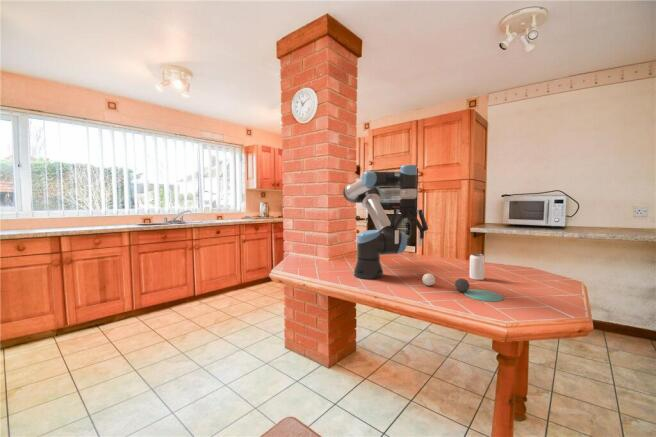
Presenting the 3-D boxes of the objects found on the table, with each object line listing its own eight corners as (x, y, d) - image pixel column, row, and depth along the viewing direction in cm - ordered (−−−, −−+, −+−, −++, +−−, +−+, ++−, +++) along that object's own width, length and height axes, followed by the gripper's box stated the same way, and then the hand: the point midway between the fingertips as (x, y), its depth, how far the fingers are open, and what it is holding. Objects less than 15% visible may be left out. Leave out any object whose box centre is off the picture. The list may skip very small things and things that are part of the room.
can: (486, 280, 131) (486, 256, 130) (471, 280, 132) (472, 255, 131) (481, 277, 137) (482, 253, 136) (467, 276, 138) (468, 253, 138)
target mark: (457, 290, 117) (457, 289, 117) (489, 289, 118) (489, 288, 118) (476, 302, 103) (476, 301, 103) (512, 301, 104) (512, 300, 104)
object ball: (452, 289, 118) (452, 277, 118) (464, 289, 118) (465, 276, 118) (458, 293, 113) (459, 280, 112) (471, 293, 113) (472, 280, 113)
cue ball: (420, 283, 127) (420, 272, 127) (432, 283, 127) (432, 271, 127) (425, 287, 122) (425, 275, 121) (437, 287, 122) (437, 275, 121)
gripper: (382, 198, 133) (382, 243, 134) (430, 197, 118) (430, 248, 120) (389, 198, 139) (389, 241, 140) (436, 197, 124) (435, 245, 125)
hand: (408, 244), depth 130 cm, fingers open, 11 cm apart
